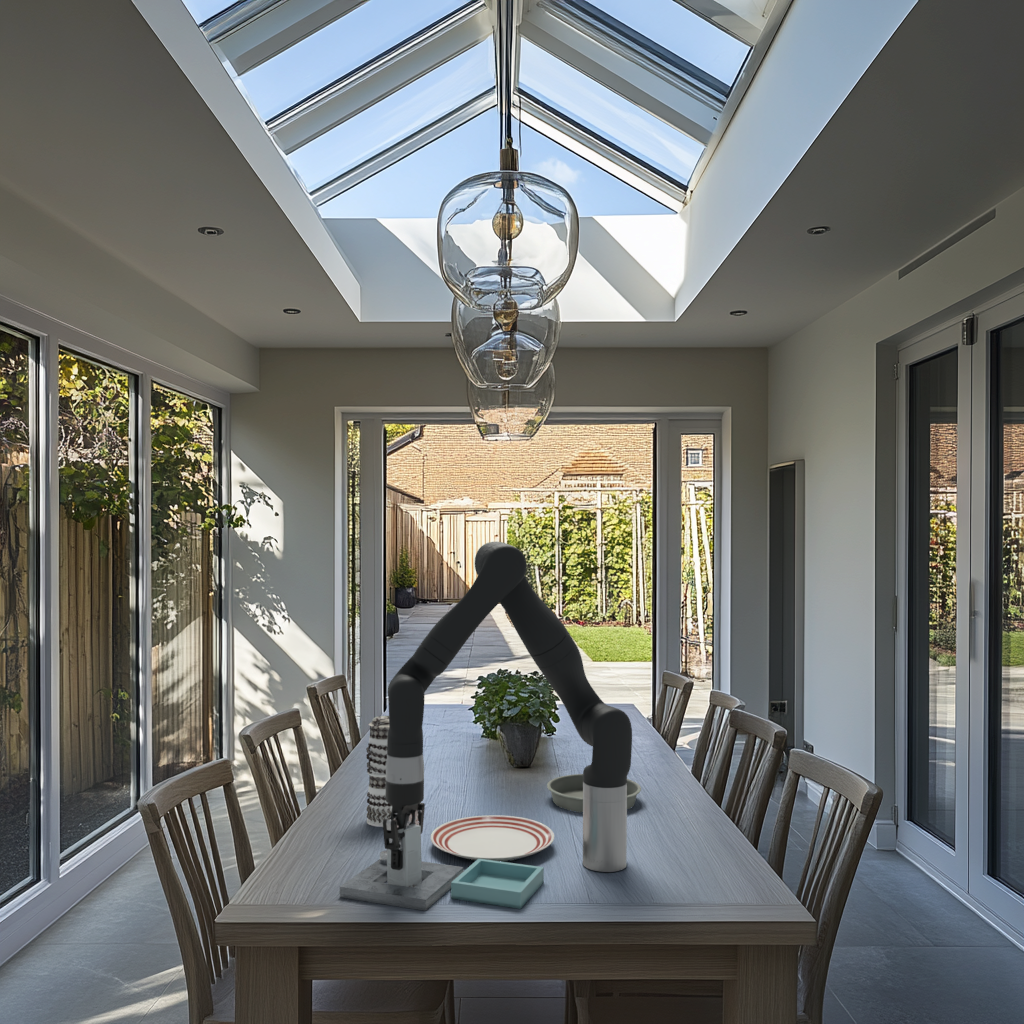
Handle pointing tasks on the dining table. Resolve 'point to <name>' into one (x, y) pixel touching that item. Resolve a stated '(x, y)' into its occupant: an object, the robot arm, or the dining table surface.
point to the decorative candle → (377, 772)
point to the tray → (497, 883)
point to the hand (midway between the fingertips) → (403, 863)
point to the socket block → (421, 897)
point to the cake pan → (581, 792)
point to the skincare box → (407, 859)
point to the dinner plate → (492, 837)
